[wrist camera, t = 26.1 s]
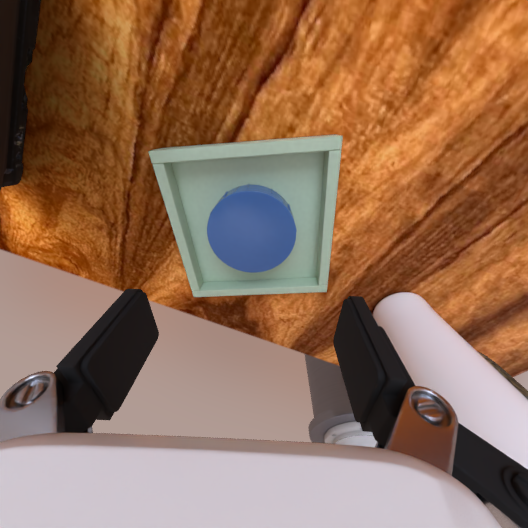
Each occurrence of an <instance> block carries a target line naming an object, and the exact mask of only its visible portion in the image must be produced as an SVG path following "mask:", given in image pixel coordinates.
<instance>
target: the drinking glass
mask: <svg viewBox="0 0 528 528" xmlns="http://www.w3.org/2000/svg"><path fill="white" fill-rule="evenodd" d="M373 317H374V319H375V321H376V323H377V324H378V326H381V327H382V328H383V329H384V330H385V332H386V334H387V335H388V337H389V339H390V341H391V343H392V344H393V346H394V348H395V350H396V352H397V353H398V355H399V357H400V359H401V361H402V362H403V364H404V366H405V368H406V369H407V371H408V373H409V375H410V377H411V378H412V380H413V382H414V384H415V386H422V387H426V388H429V389H431V390H433V391H435V392H437V393H438V394H440V395H441V396H442V397H443V398H444V399H445V400H447V401H448V402H449V404H450V405H451V406H452V408H453V409H454V410H455V413H456V415H457V417H458V423H460V424H461V425H463V426H464V427H466V428H467V429H469V430H470V431H472V432H473V433H475V434H476V435H478V436H479V437H481V438H482V439H484V440H485V441H487V442H488V443H489V444H491V445H492V446H494V447H495V448H497V449H498V450H500V451H501V452H503V453H504V454H506V455H507V456H509V457H510V458H512V459H513V460H515V461H516V462H518V463H519V464H521V465H522V466H523V467H525V468H526V469H528V399H527V398H526V397H525V396H524V395H523V394H522V393H521V392H520V391H518V390H517V389H516V388H515V387H514V386H513V385H512V384H511V383H510V382H509V381H508V380H507V379H506V378H505V377H504V376H503V375H502V374H501V373H499V372H498V371H497V370H496V369H495V368H494V367H493V366H492V365H491V364H490V363H489V362H488V361H487V360H486V359H485V358H484V357H482V356H481V355H480V354H479V353H478V352H477V351H476V350H475V349H474V348H473V347H472V346H471V345H470V344H469V343H468V342H467V341H466V340H464V339H463V338H462V337H461V336H460V335H459V334H458V333H457V332H456V331H455V330H454V329H453V328H452V327H451V326H450V325H449V324H448V323H447V322H446V321H445V320H444V319H442V318H441V317H440V316H439V315H438V314H437V313H436V312H435V311H434V310H433V309H432V307H431V306H430V305H429V304H428V303H427V302H426V301H425V300H424V299H423V298H422V297H421V296H419V295H417V294H415V293H410V292H400V293H395V294H392V295H389V296H387V297H386V298H384V299H382V300H381V301H380V302H379V303H378V304H377V305H376V307H375V309H374V312H373Z"/></svg>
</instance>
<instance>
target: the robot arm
mask: <svg viewBox="0 0 528 528" xmlns="http://www.w3.org/2000/svg"><path fill="white" fill-rule="evenodd" d="M158 335H159V332H158V329H157V326H156V323H155V320H154V316H153V313H152V310H151V307H150V304H149V301H148V298H147V295H146V293H144V292H143V291H142V290H141V289H127V290H125V291H124V292H123V293H122V295H121V296H120V297H119V298H118V299H117V300H116V301H115V302H114V303H113V304H112V306H111V307H110V308H109V309H108V310H107V311H106V312H105V313H104V314H103V316H102V317H101V318H100V319H99V320H98V321H97V322H96V323H95V324H94V325H93V327H92V328H91V329H90V330H89V331H88V332H87V333H86V334H85V335H84V336H83V338H82V339H81V340H80V341H79V342H78V343H77V344H76V345H75V346H74V348H73V349H72V350H71V351H70V352H69V353H68V354H67V355H66V357H64V359H63V360H62V361H61V362H60V363H59V364H58V365H57V368H58V369H57V370H56V371H55V372H54V373H52V372H50V371H42V372H37V373H34V374H31V375H29V376H27V377H25V378H23V379H21V380H20V381H18V382H17V383H15V384H14V385H13V386H12V387H11V388H9V389H8V390H7V391H6V392H5V394H4V395H3V396H2V397H1V399H0V528H528V469H526V468H525V467H523V466H522V465H521V464H519V463H518V462H516V461H515V460H513V459H512V458H510V457H509V456H507V455H506V454H504V453H503V452H501V451H500V450H498V449H497V448H495V447H494V446H492V445H491V444H489V443H488V442H487V441H485V440H484V439H482V438H481V437H479V436H478V435H476V434H475V433H473V432H472V431H470V430H469V429H467V428H466V427H464V426H463V425H461V424H460V423H458V417H457V415H456V413H455V410H454V409H453V408H452V406H451V405H450V404H449V402H448V401H447V400H445V399H444V398H443V397H442V396H441V395H440V394H438V393H437V392H435V391H433V390H431V389H429V388H426V387H422V386H415V384H414V382H413V380H412V378H411V377H410V375H409V373H408V371H407V369H406V368H405V366H404V364H403V362H402V361H401V359H400V357H399V355H398V353H397V352H396V350H395V348H394V346H393V344H392V343H391V341H390V339H389V337H388V335H387V334H386V332H385V330H384V329H383V328H382V327H381V326H378V324H377V323H376V321H375V319H374V317H373V315H372V313H371V311H370V310H369V308H368V306H367V304H366V302H365V300H364V299H363V297H357V296H349V297H348V299H345V300H344V301H343V305H342V309H341V313H340V316H339V320H338V324H337V328H336V332H335V335H334V347H335V351H336V354H337V358H338V361H339V365H340V368H341V372H342V375H343V379H344V382H345V386H346V389H347V393H348V396H349V400H350V403H351V407H352V410H353V414H354V417H355V420H356V421H352V422H346V423H342V424H339V425H336V426H334V427H332V428H330V429H329V430H327V432H326V433H325V435H324V441H325V443H309V442H289V441H270V440H248V439H227V438H206V437H181V436H158V435H133V434H132V435H131V434H108V433H107V434H106V433H93V432H92V425H93V423H94V422H95V420H96V419H97V420H110V419H111V417H112V415H113V413H114V412H116V411H118V410H119V408H120V407H121V405H122V403H123V401H124V399H125V398H126V396H127V394H128V392H129V390H130V389H131V387H132V385H133V383H134V381H135V379H136V377H137V376H138V374H139V372H140V370H141V368H142V367H143V365H144V363H145V361H146V359H147V357H148V356H149V354H150V352H151V350H152V348H153V346H154V345H155V343H156V341H157V339H158Z"/></svg>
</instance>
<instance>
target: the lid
mask: <svg viewBox="0 0 528 528" xmlns="http://www.w3.org/2000/svg"><path fill="white" fill-rule="evenodd" d="M296 232H297V229H296V225H295V221H294V217H293V214H292V211H291V208H290V204H288V203H287V202H286V200H285V199H284V198H283V197H282V196H281V195H280V194H278V193H277V192H276V191H274V190H273V189H272V188H271V189H270V188H268V187H265V186H261V185H251V184H248V185H242V186H239V187H236V188H234V189H232V190H230V191H228V192H227V191H226V193H225V194H224V195H223V196H222V197H221V199H220V200H219V201H218V203H217V204H216V206H215V207H214V208H213V210H212V211H211V213H210V216H209V219H208V224H207V236H208V241H209V244H210V246H211V248H212V250H213V252H214V253H215V254H216V256H217V257H218V258H219V259H220V260H221V261H222V262H224V263H225V264H226V265H228V266H230V267H232V268H234V269H236V270H239V271H243V272H250V273H257V272H264V271H267V270H270V269H273V268H275V267H277V266H278V265H280V264H281V263H282V262H283V261H284V260H285V259H286V258H287V257H288V256H289V255H290V253H291V251H292V250H293V247H294V245H295V241H296Z"/></svg>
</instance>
